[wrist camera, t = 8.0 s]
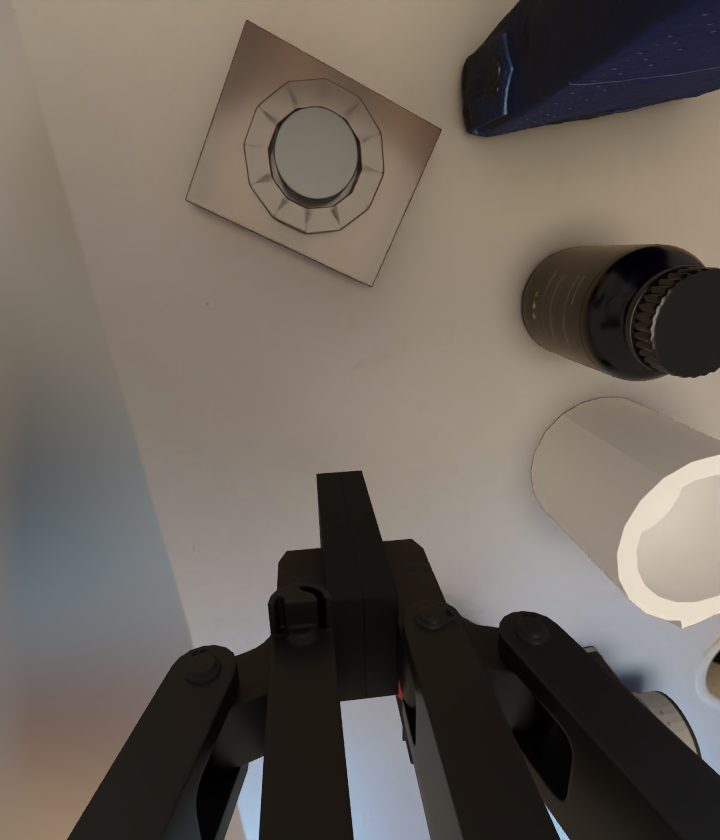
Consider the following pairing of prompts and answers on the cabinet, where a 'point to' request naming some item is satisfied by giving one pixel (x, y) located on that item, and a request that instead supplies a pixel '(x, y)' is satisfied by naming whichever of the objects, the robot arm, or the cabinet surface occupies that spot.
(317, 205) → the switch block
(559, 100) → the blue zippered case
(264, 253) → the cabinet surface
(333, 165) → the button
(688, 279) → the supplement bottle
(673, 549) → the mug
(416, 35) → the cabinet surface
